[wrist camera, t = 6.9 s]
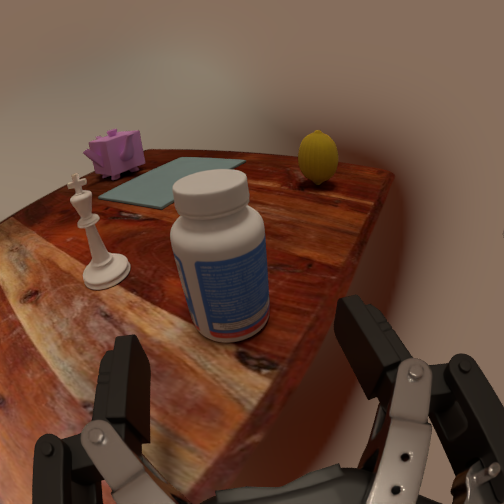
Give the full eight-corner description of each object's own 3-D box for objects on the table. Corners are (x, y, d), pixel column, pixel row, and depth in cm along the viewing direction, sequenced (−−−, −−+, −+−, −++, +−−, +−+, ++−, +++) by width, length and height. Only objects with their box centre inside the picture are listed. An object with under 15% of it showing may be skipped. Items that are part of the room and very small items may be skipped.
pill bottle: (283, 304, 21) (280, 169, 16) (243, 357, 17) (222, 207, 12) (221, 283, 23) (203, 162, 18) (177, 325, 20) (139, 193, 14)
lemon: (323, 195, 37) (324, 135, 33) (290, 186, 41) (289, 130, 36) (344, 184, 40) (345, 130, 36) (312, 176, 44) (312, 125, 39)
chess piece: (92, 262, 27) (62, 172, 22) (134, 256, 28) (108, 159, 22) (78, 292, 23) (38, 191, 18) (125, 286, 24) (89, 176, 18)
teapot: (77, 181, 57) (68, 141, 51) (124, 162, 65) (116, 125, 60) (109, 191, 47) (97, 138, 42) (165, 167, 55) (158, 120, 50)
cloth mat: (245, 162, 53) (245, 160, 53) (161, 209, 37) (160, 206, 37) (181, 158, 60) (181, 157, 60) (98, 199, 44) (98, 196, 44)
